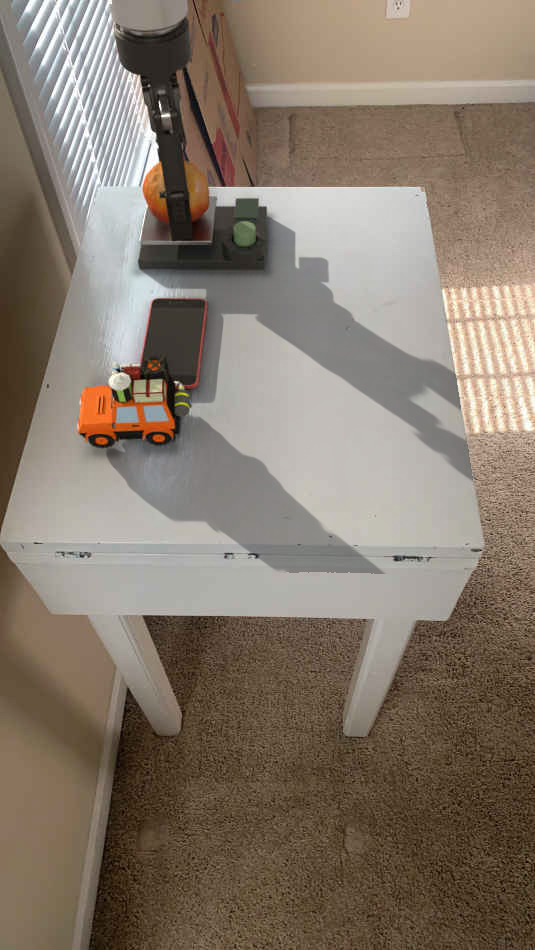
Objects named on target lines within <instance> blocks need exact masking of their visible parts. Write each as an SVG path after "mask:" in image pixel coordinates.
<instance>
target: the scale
mask: <svg viewBox="0 0 535 950" xmlns="http://www.w3.org/2000/svg"><path fill="white" fill-rule="evenodd" d="M234 215H235V206H234V205H233V206H232V205H231V206H230V205H229V206H228V205H227V206H226V205H221V206H220V205H219V206H218V205H216V213H215V223H214V232H213V242H212V245H140V246H139V247H140V248H139V252H138V257H137V263H138V264H137V265H138V268H139V270H200V271H201V270H207V271H208V270H209V271H210V270H214V271H215V270H218V271H219V270H225V271H226V270H227V271H230V270H233V271H236V270H237V271H245V270H246V271H249V270H250V271H252V270H253V271H265V269H266V254H268V252H269V235H268V232H267V227H268V226H267V225H268V207H267V206H265V205H264V206H262V205H261V206H260V205H259V206H258V220H235V219H234ZM242 221H247V222H251V223H253V224H254V225H255V227H256V242H255V243H254V244H253V245H251V246H248V247H246V246H238V245H236V244H235V242H234V235H233V227H234V225H235V224H237V223H239V222H242Z"/></svg>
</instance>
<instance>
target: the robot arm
mask: <svg viewBox="0 0 535 950" xmlns="http://www.w3.org/2000/svg"><path fill="white" fill-rule="evenodd" d="M230 1H232V2H243V1H245V0H230ZM108 3H109V9H110V15H111V18H112V20H113V22H114V24H113V35H114V41H115V44H116V45H115V46H116V50H117V54H118V56H117V57H118V60H119V63H120V64H121V66H122V67H123V69H125V70H126V71H127V72H129V73H131V74H133V75H136V76H139V80H140V81H139V82H140V86H141V92H142V98H143V102H144V105H145V106H146V107H147V115H148V119H149V126H150V130H151V131H152V133H155V144H156V145H157V146H158V147H157V148H156V150H157V157H158V162H160V161H161V166H162V172H163V178H164V184H165V190H164V191H163V192H159V195H160V199H161V198H165V199H166V206H167V212H168V218H169V224H170V231H171V237H172V241H180V240H187V239H194V235H193V227H192V219H191V211H190V203H189V196H190V194H189V192H188V187H187V181H186V174H185V166H184V161H185V160H184V153H183V145H182V144H183V143H184V138H183V133H182V132H181V129H182V127H183V120H182V114H181V113H182V112H181V107H180V102H181V99H182V97H181V96H182V95H181V89H180V83H179V82H178V76H177V72H178V71H181V70H183V69H184V68H185V67H186V66H187V65H188V64H189V63H190V61H191V59H192V55H193V54H192V53H193V51H192V43H191V40H192V39H191V32H190V31H191V30H190V23H189V19H188V18H187V17H186V16H187V15H188V13H189V12H188V11H189V6H188V0H108Z"/></svg>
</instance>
